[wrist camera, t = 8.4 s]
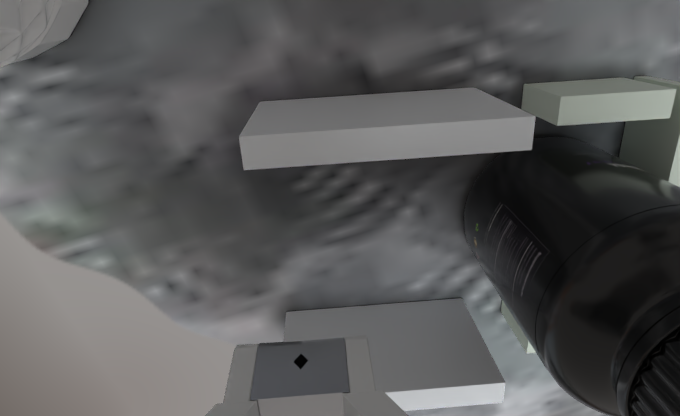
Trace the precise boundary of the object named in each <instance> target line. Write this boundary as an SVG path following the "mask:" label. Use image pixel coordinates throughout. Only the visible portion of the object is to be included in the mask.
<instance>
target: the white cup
mask: <svg viewBox="0 0 680 416" xmlns="http://www.w3.org/2000/svg"><path fill="white" fill-rule="evenodd" d="M87 5H88V0H0V68H1V67H4V66H6V65H8V64H11V63H14V62H18V61H22V60H27V59H31V58H34V57H36V56H38V55H39V54H41V53H43V52H45V51H47V50H49V49H50V48H52V47H54V46H56V45H58V44H60V43H62V42H63V41H65V40H67V39H68V38H69V37H70V35H71V33H72V31H73V30H74V28H75V26H76V24H77V23H78V21H79V19H80V17H81V16H82V14H83V12H84V10H85V9H86V7H87Z"/></svg>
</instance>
